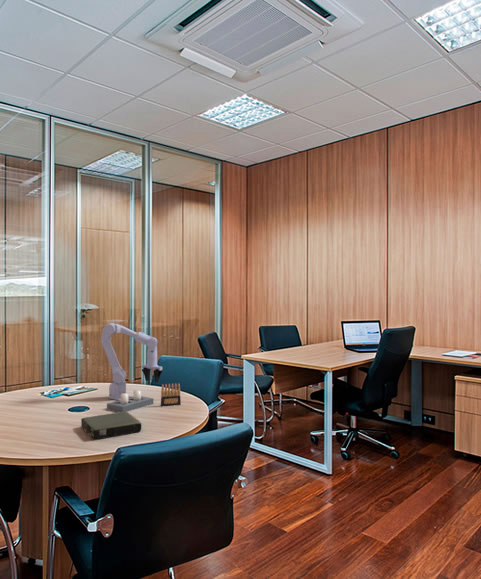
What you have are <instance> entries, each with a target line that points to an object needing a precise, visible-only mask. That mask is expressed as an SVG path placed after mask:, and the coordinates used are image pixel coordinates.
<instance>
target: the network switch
mask: <svg viewBox="0 0 481 579" xmlns="http://www.w3.org/2000/svg"><path fill="white" fill-rule="evenodd" d="M80 426H81V428H82V429H83V430H84V431H85V432H86V434H88V435H89V436H90V437H91V438H92V439H93V440H94V441H98V440H101V439H106V438H107V439H108V438H112V437H116V436H123V435H131V434H132V433H133V434H137V433H138V434H139V432H140V433H141V430H142V423H141V421H140V420H139V419H138V418H136V417H135V416H133V415H132V414H131V413H129V411H127V412H117V411H116V412H113V413H108V414H107V413H106V414H99V415H93V416H92V415H91V416H87V417H82V418H81V421H80Z"/></svg>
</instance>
